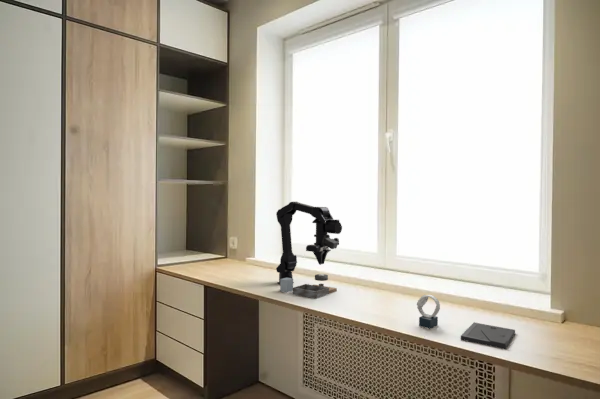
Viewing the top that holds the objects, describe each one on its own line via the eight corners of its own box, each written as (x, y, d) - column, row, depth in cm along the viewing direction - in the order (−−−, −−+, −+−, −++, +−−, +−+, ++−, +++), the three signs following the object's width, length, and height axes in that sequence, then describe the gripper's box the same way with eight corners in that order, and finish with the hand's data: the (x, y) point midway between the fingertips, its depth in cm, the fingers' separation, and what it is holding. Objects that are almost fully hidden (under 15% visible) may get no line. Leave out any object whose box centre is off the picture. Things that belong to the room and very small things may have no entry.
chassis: (292, 294, 191) (292, 287, 190) (313, 287, 205) (313, 281, 205) (316, 298, 182) (316, 291, 182) (336, 291, 197) (336, 284, 197)
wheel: (312, 279, 197) (312, 275, 197) (319, 277, 202) (319, 273, 202) (323, 281, 194) (323, 276, 194) (330, 279, 199) (330, 274, 199)
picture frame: (505, 351, 124) (514, 335, 138) (505, 343, 123) (515, 328, 138) (460, 341, 131) (473, 327, 146) (460, 334, 131) (473, 321, 146)
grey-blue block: (280, 291, 196) (280, 279, 196) (286, 289, 200) (286, 277, 200) (286, 292, 194) (286, 280, 194) (293, 290, 198) (293, 278, 198)
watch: (421, 321, 150) (422, 292, 150) (442, 326, 145) (442, 295, 145) (414, 324, 147) (414, 294, 146) (434, 329, 141) (435, 298, 141)
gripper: (325, 235, 185) (324, 268, 186) (345, 232, 201) (345, 263, 201) (305, 233, 192) (305, 266, 192) (326, 231, 207) (326, 261, 207)
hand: (321, 264), depth 198 cm, fingers closed
